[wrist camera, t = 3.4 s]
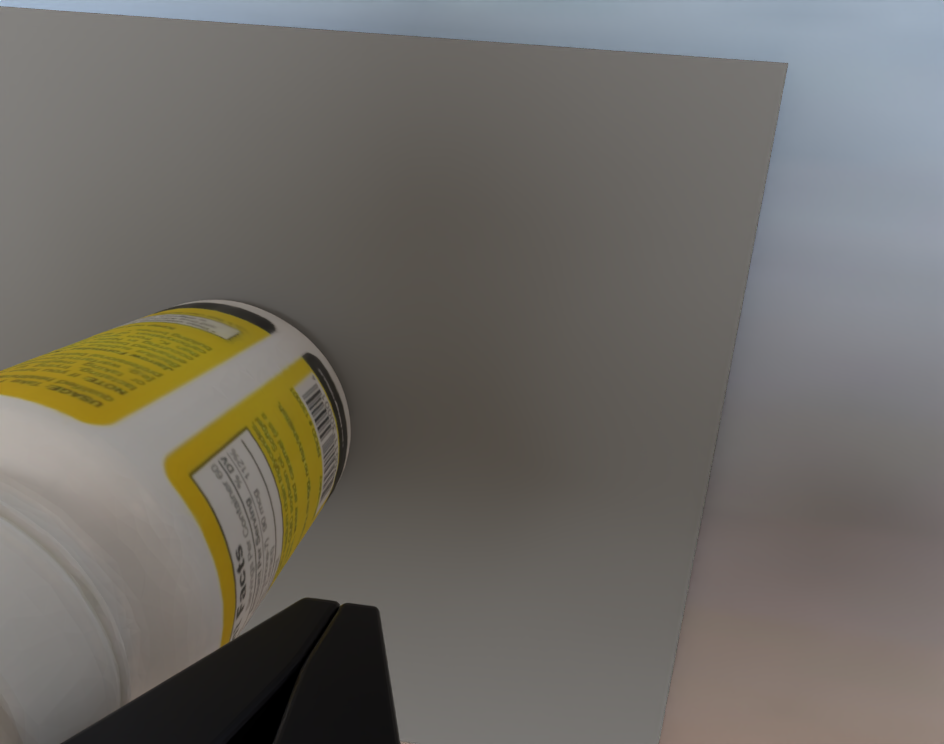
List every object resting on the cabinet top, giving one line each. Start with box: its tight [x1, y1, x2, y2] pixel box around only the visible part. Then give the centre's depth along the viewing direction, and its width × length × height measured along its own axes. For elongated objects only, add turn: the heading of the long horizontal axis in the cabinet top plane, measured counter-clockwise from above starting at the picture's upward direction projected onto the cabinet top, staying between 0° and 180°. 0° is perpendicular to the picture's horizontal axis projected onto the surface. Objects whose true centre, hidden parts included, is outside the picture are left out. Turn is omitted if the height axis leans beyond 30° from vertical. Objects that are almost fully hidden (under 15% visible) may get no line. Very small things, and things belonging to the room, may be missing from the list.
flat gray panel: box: [0, 6, 788, 744], centre depth 14 cm, size 20×14×1 cm
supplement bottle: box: [0, 300, 351, 744], centre depth 10 cm, size 5×5×8 cm
